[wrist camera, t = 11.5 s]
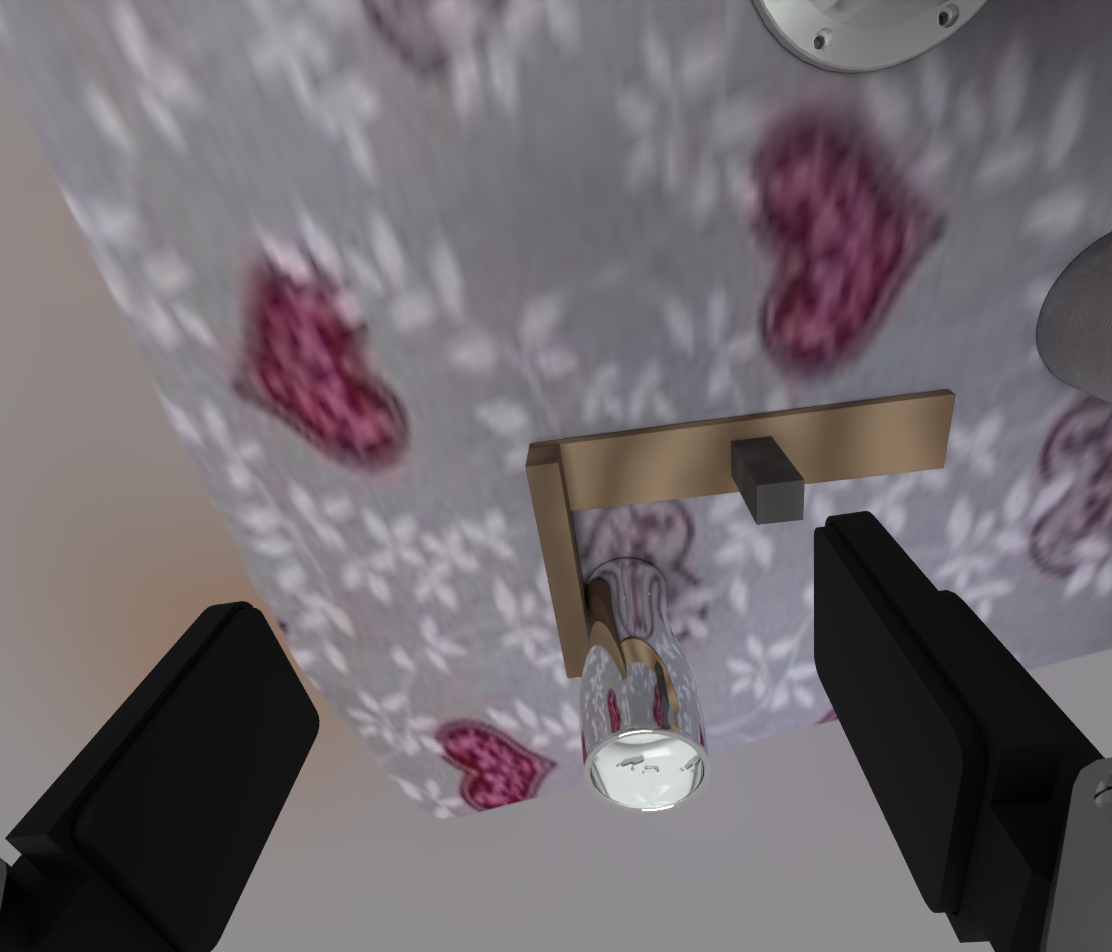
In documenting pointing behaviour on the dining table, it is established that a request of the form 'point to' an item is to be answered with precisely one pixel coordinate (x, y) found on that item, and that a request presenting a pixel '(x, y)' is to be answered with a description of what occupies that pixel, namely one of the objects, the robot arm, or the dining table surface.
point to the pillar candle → (1081, 323)
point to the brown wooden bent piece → (720, 474)
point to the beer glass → (638, 696)
